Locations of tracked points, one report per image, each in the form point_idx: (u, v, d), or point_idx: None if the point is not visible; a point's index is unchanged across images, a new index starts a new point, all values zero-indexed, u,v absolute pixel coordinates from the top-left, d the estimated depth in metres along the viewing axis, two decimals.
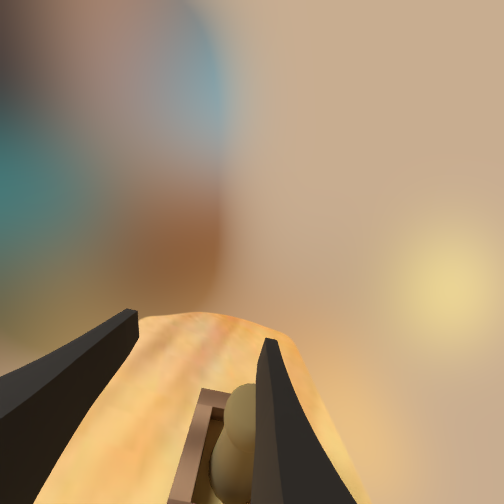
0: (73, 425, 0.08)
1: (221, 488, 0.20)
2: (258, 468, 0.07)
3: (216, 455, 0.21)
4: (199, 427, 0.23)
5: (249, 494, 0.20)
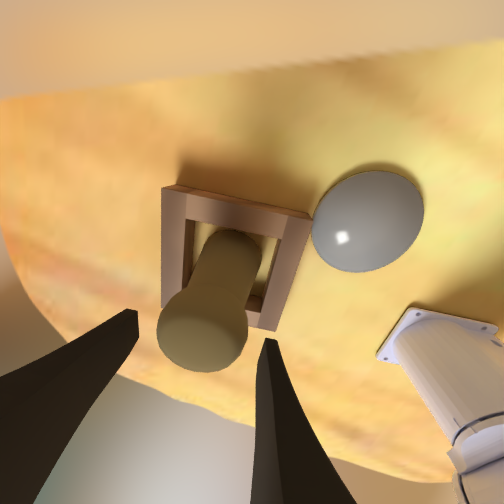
0: (73, 425, 0.08)
1: None
2: (258, 468, 0.07)
3: None
4: None
5: (256, 254, 0.18)
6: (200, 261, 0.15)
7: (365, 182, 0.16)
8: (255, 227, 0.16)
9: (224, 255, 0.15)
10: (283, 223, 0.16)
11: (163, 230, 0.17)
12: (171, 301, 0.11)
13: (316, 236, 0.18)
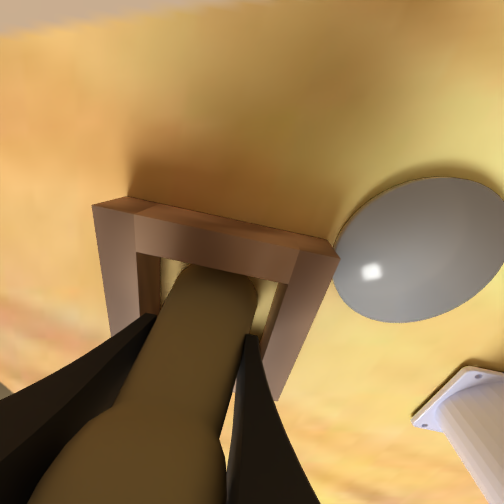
0: None
1: None
2: (230, 462, 0.07)
3: None
4: None
5: (250, 298, 0.12)
6: (156, 324, 0.10)
7: (424, 194, 0.10)
8: (247, 266, 0.10)
9: (195, 317, 0.09)
10: (291, 261, 0.10)
11: (104, 268, 0.11)
12: (49, 476, 0.05)
13: (339, 273, 0.12)
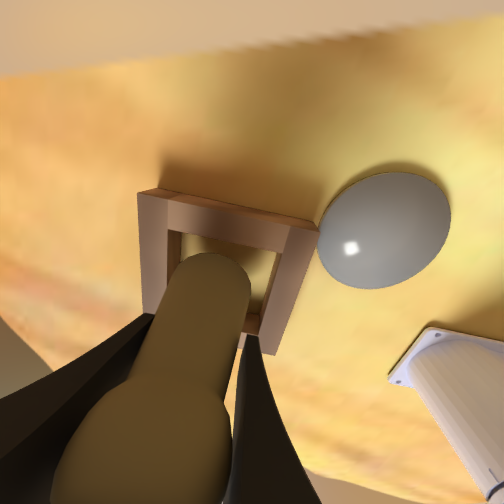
0: None
1: None
2: None
3: None
4: None
5: (244, 285, 0.13)
6: (159, 311, 0.10)
7: (383, 185, 0.13)
8: (251, 239, 0.13)
9: (195, 302, 0.10)
10: (284, 235, 0.13)
11: (142, 242, 0.14)
12: (79, 433, 0.06)
13: (322, 248, 0.15)
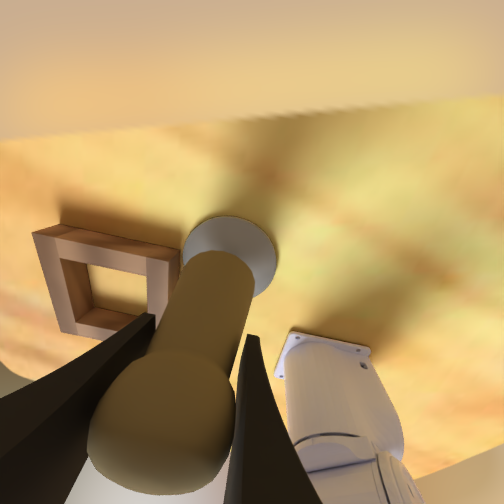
0: None
1: None
2: (232, 463, 0.07)
3: None
4: (98, 333, 0.22)
5: (250, 283, 0.15)
6: (174, 298, 0.11)
7: (217, 226, 0.18)
8: (121, 265, 0.18)
9: (207, 293, 0.11)
10: (143, 263, 0.17)
11: (43, 267, 0.19)
12: (113, 390, 0.07)
13: None
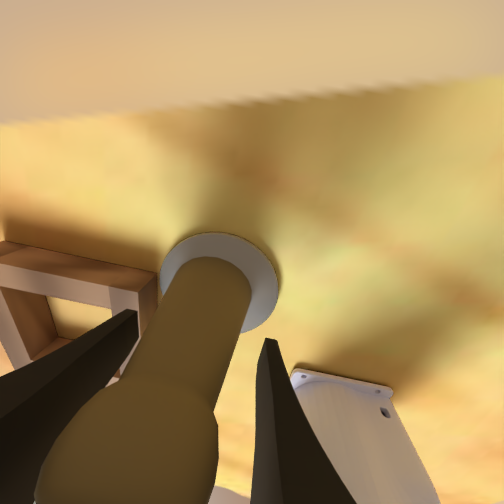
0: None
1: None
2: (258, 468, 0.07)
3: None
4: None
5: (245, 292, 0.13)
6: (158, 311, 0.10)
7: (202, 245, 0.14)
8: (78, 296, 0.14)
9: (194, 306, 0.10)
10: (106, 293, 0.13)
11: None
12: (69, 430, 0.06)
13: None
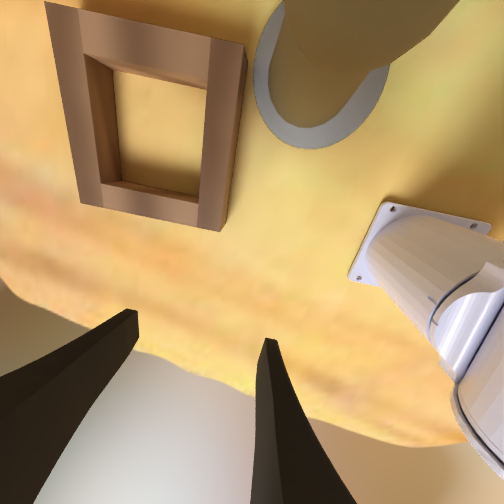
0: (73, 425, 0.08)
1: (344, 104, 0.13)
2: (258, 468, 0.07)
3: (321, 111, 0.12)
4: (131, 201, 0.16)
5: None
6: None
7: None
8: (172, 61, 0.12)
9: None
10: (206, 51, 0.12)
11: (60, 76, 0.13)
12: None
13: (259, 93, 0.14)
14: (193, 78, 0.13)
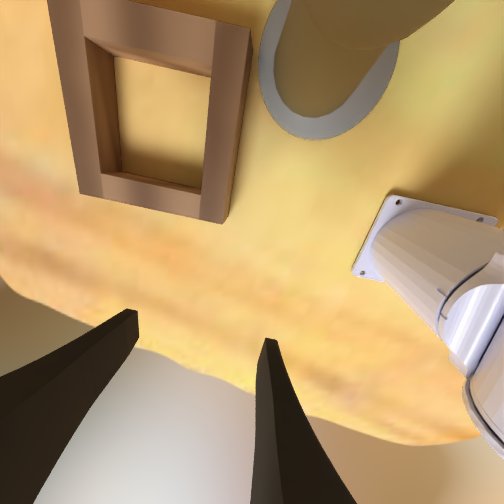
0: (73, 425, 0.08)
1: (352, 92, 0.13)
2: (258, 468, 0.07)
3: (328, 97, 0.11)
4: (131, 191, 0.16)
5: None
6: None
7: None
8: (176, 45, 0.12)
9: None
10: (211, 35, 0.12)
11: (60, 60, 0.13)
12: None
13: (264, 81, 0.14)
14: (197, 64, 0.13)
